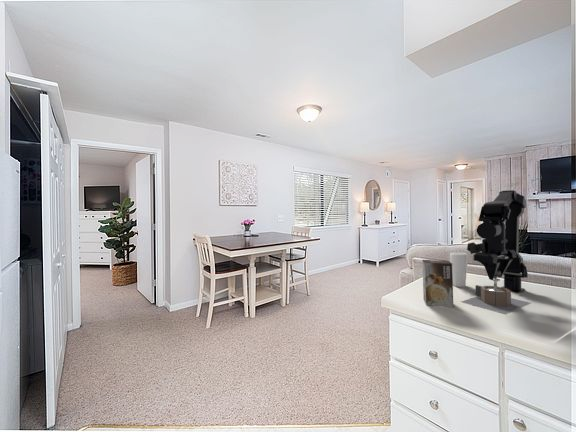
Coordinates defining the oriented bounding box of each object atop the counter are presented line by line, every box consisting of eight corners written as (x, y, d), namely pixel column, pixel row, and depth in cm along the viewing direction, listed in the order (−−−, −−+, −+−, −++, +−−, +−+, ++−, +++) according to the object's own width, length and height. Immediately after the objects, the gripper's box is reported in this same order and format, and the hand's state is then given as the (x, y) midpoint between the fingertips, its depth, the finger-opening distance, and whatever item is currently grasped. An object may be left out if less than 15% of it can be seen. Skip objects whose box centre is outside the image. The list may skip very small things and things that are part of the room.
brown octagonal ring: (481, 295, 105) (481, 283, 105) (514, 303, 95) (514, 290, 95) (470, 299, 101) (470, 286, 101) (503, 307, 91) (503, 293, 91)
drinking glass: (470, 288, 115) (470, 254, 115) (453, 287, 116) (453, 254, 116) (463, 284, 122) (463, 252, 121) (447, 283, 123) (447, 252, 123)
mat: (487, 293, 108) (487, 292, 108) (531, 303, 96) (531, 302, 96) (460, 302, 98) (460, 301, 98) (505, 315, 86) (505, 314, 86)
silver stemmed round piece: (490, 289, 100) (490, 268, 100) (507, 292, 96) (507, 271, 96) (483, 291, 98) (483, 270, 98) (500, 295, 93) (500, 273, 93)
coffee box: (449, 301, 100) (449, 260, 99) (453, 307, 94) (453, 263, 93) (422, 299, 103) (422, 259, 102) (425, 305, 97) (424, 262, 96)
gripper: (483, 233, 108) (483, 270, 108) (458, 236, 99) (458, 277, 99) (517, 235, 98) (517, 276, 99) (492, 239, 89) (492, 284, 90)
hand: (495, 278), depth 97 cm, fingers open, 6 cm apart
